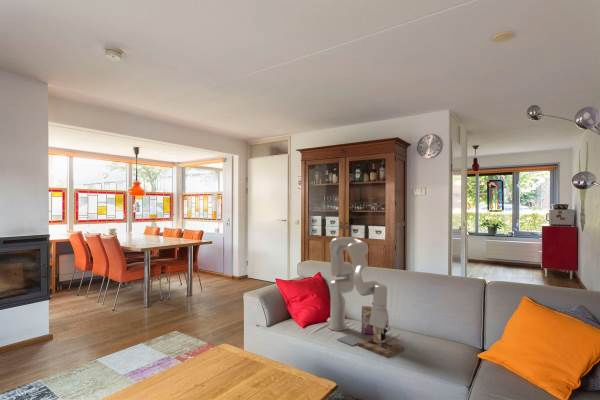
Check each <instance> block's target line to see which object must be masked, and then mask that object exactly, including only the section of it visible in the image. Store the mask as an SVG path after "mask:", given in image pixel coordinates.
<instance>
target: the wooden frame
mask: <svg viewBox="0 0 600 400" xmlns="http://www.w3.org/2000/svg"><path fill="white" fill-rule="evenodd" d="M373 342H374V338H373V335H372V336H369V337H367V338H364V340H361V341H359V342H357V345H356V346H357V347H360V348H362V349H364V350H367V351H369V352H371V353H375V354H378V355H380V356H382V357H384V358H389V357H390V356H393V355H395V354H397V353H399V352H401V351H404V345H402V344H399V343H396V342H394V341H391V340H388V339H385V342H384V343H381V345H380V344H379V343H377V344H378V345H376V344H373ZM371 343H372V344H371ZM374 343H375V342H374ZM379 345H380V346H379ZM381 346H383V347H386V348H383V347H381ZM388 347H389V348H388Z"/></svg>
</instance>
